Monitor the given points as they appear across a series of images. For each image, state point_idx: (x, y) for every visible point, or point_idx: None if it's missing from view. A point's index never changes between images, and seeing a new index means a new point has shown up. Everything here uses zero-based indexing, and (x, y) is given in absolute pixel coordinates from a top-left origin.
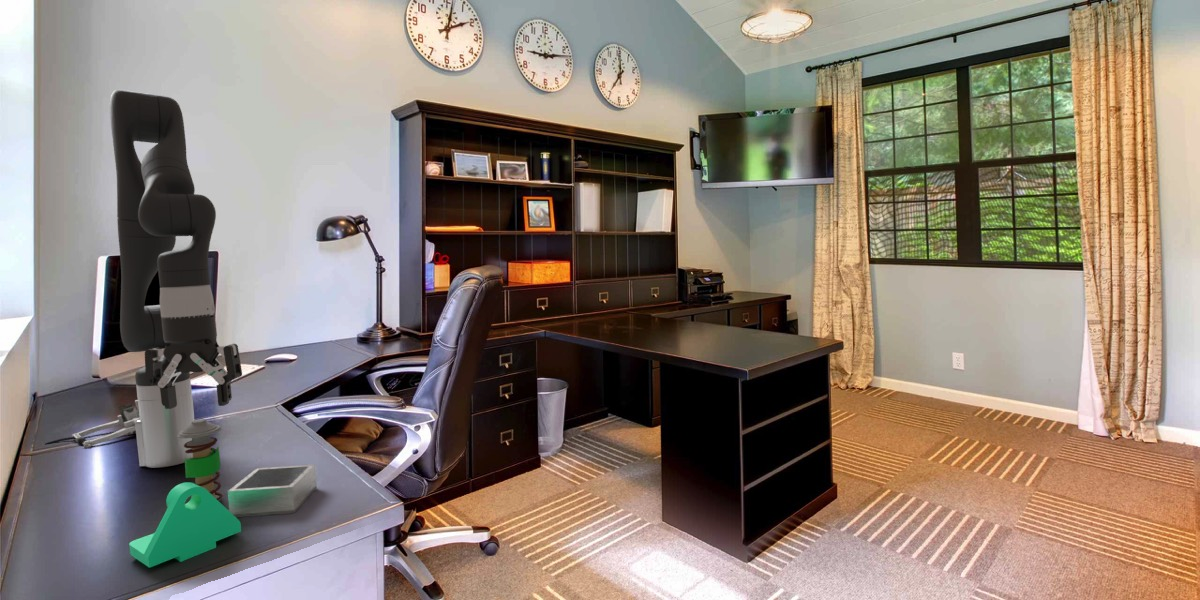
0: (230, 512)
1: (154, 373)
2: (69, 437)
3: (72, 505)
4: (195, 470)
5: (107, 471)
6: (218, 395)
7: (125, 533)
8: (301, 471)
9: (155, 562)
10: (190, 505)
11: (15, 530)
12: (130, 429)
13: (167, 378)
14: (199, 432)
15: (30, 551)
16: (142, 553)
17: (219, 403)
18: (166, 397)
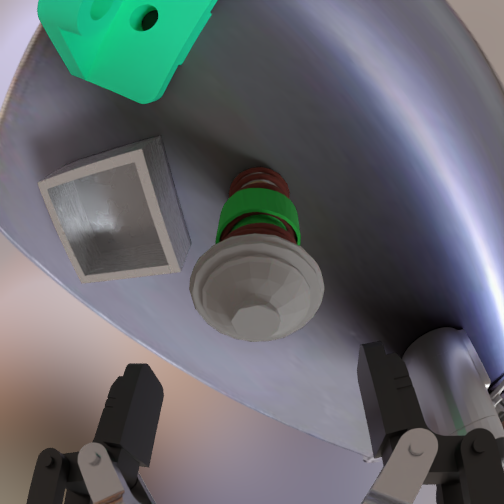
0: (63, 60)
1: (464, 494)
2: None
3: (495, 204)
4: (248, 195)
5: (494, 313)
6: (126, 399)
7: (334, 69)
8: (99, 268)
9: None
10: (92, 6)
11: None
12: (494, 393)
13: (386, 487)
14: (220, 265)
15: (447, 30)
16: None
17: (136, 369)
18: (383, 386)
